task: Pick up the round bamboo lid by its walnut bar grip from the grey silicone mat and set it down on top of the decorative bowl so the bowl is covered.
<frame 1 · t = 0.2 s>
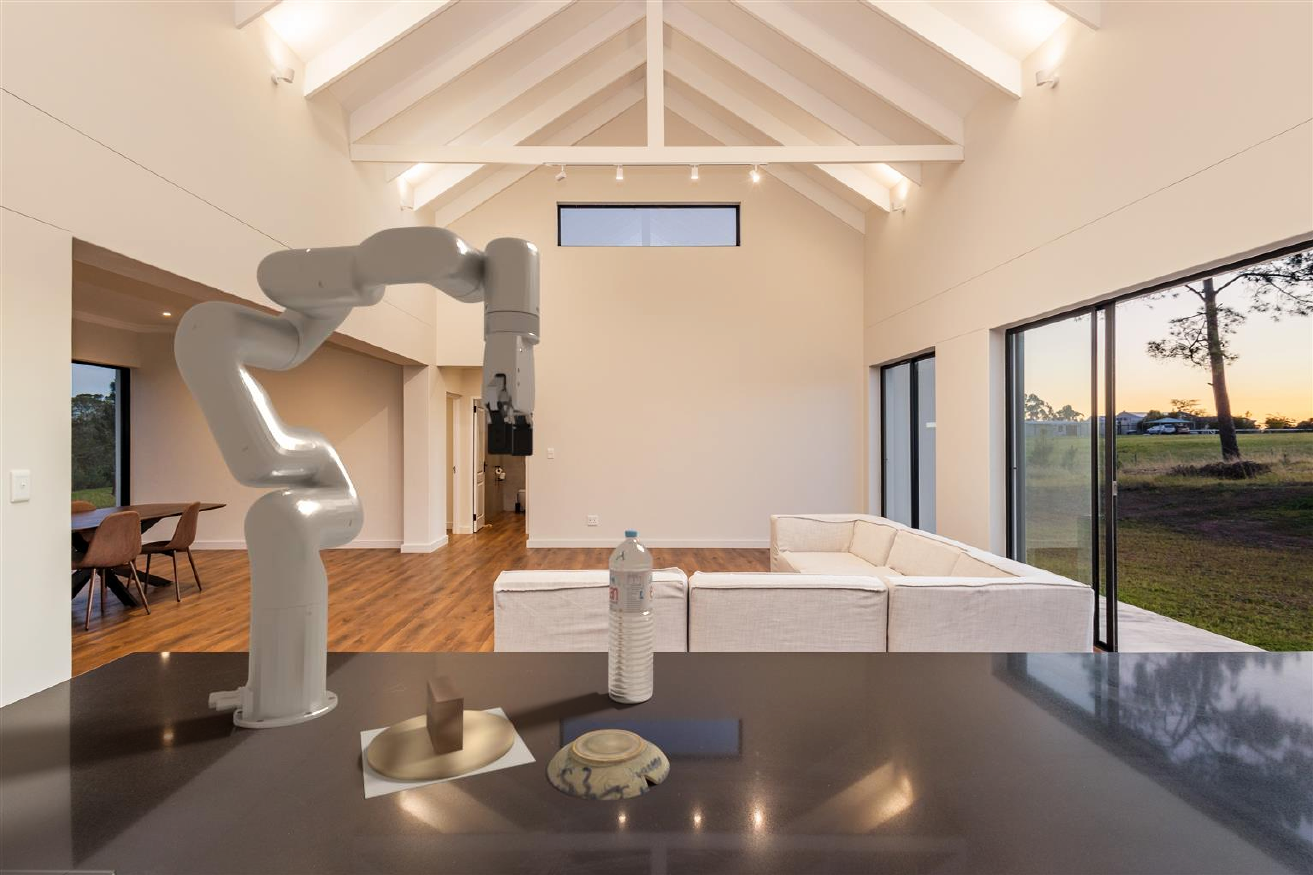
hand: (511, 455, 85), 36 cm above the kitchen island, tool pointing down, fingers open, 9 cm apart
decorative bowl: (607, 777, 71), on the kitchen island
mat: (443, 750, 76), on the kitchen island
lid: (443, 745, 76), point 1 cm above the kitchen island, touching mat
water bottle: (630, 697, 94), on the kitchen island
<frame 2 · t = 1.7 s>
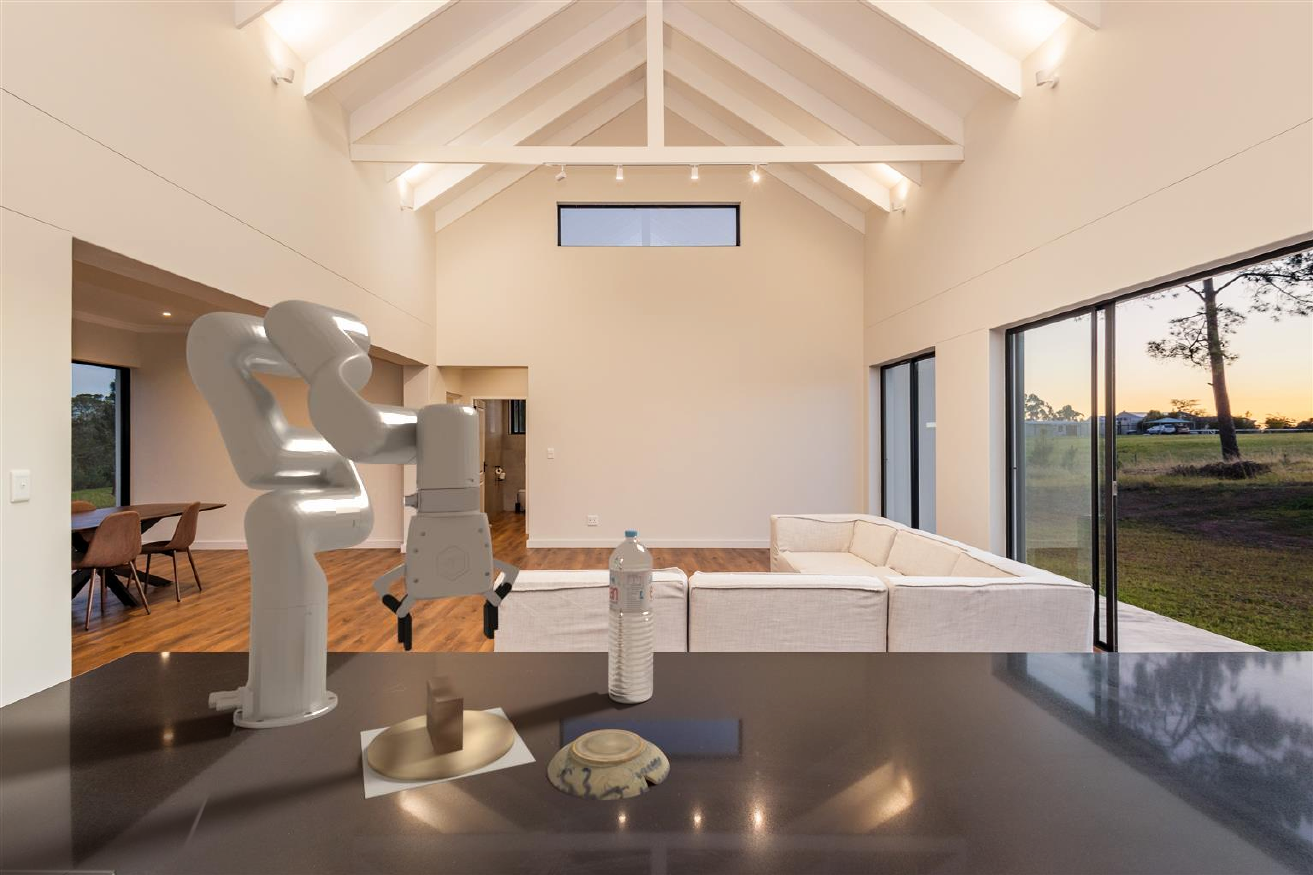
hand: (449, 642, 76), 13 cm above the kitchen island, tool pointing down, fingers open, 9 cm apart
nothing on the kitchen island moved.
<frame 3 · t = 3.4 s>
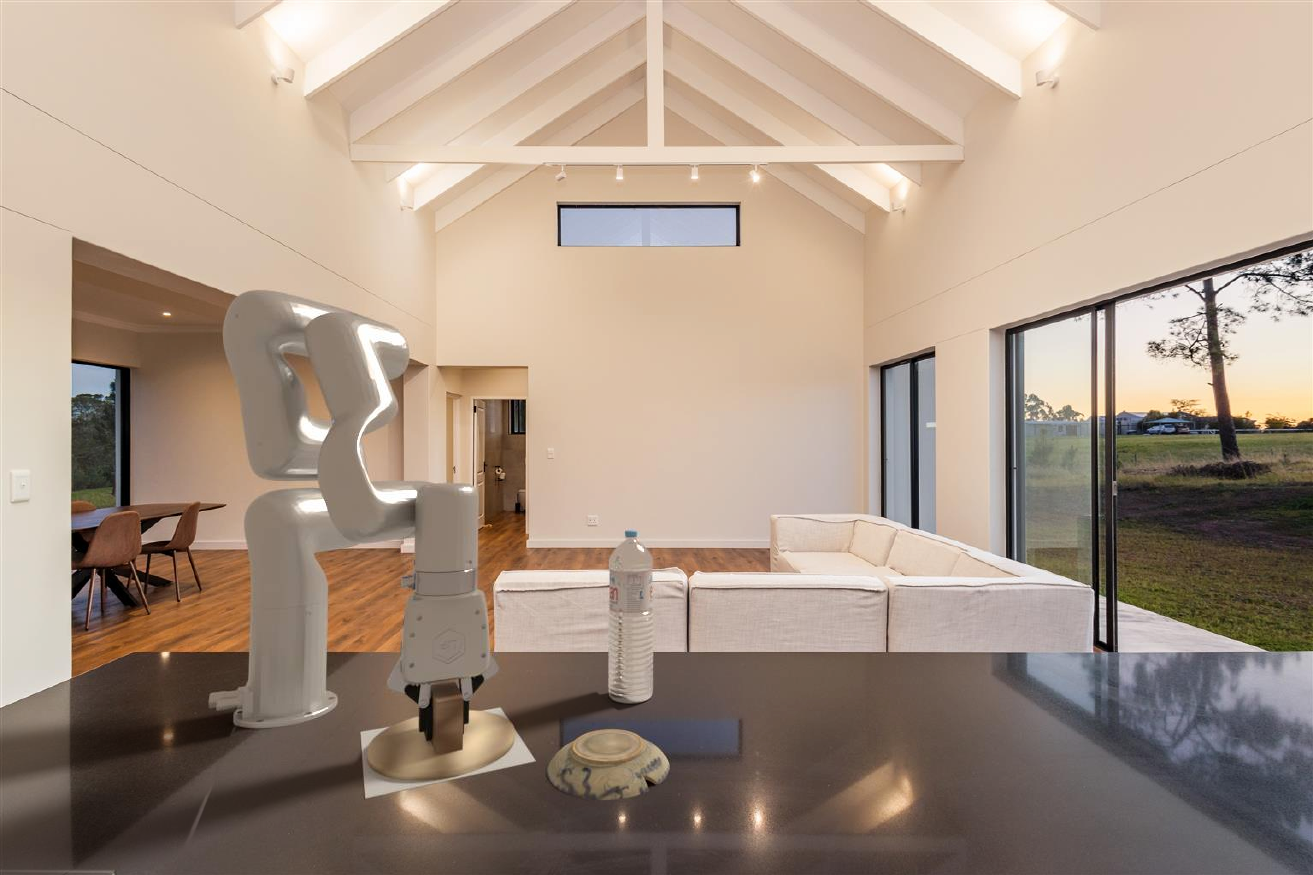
hand: (443, 732, 76), 2 cm above the kitchen island, tool pointing down, fingers closed on lid, 3 cm apart
lid: (443, 745, 76), point 1 cm above the kitchen island, touching gripper, mat
everything else where it was.
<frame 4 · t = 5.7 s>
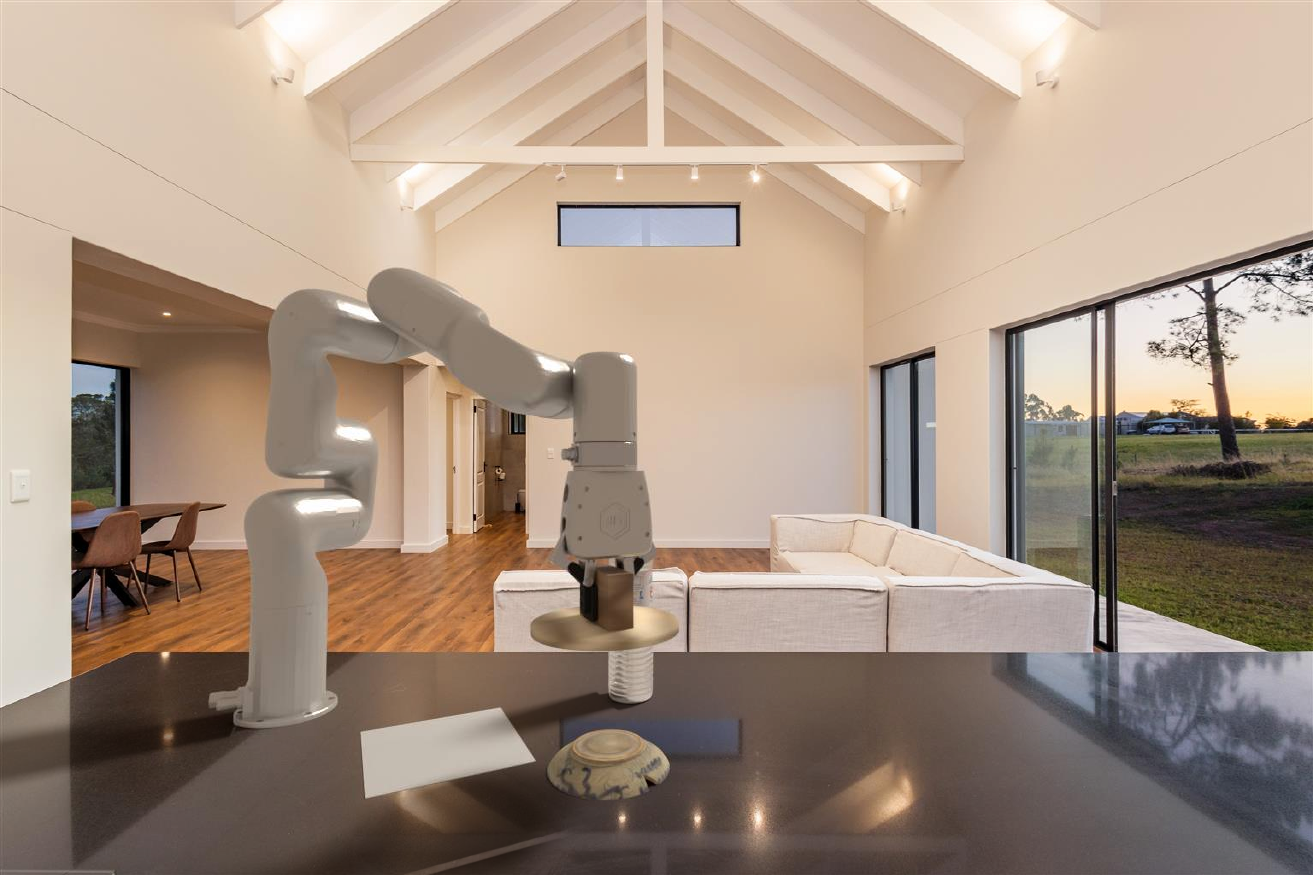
hand: (605, 616, 72), 18 cm above the kitchen island, tool pointing down, fingers closed on lid, 3 cm apart
lid: (605, 629, 72), point 16 cm above the kitchen island, touching gripper
everything else where it was.
when the fingers open (7 cm above the kitchen island, at t = 8.3 s): lid drops 3 cm, resting on decorative bowl.
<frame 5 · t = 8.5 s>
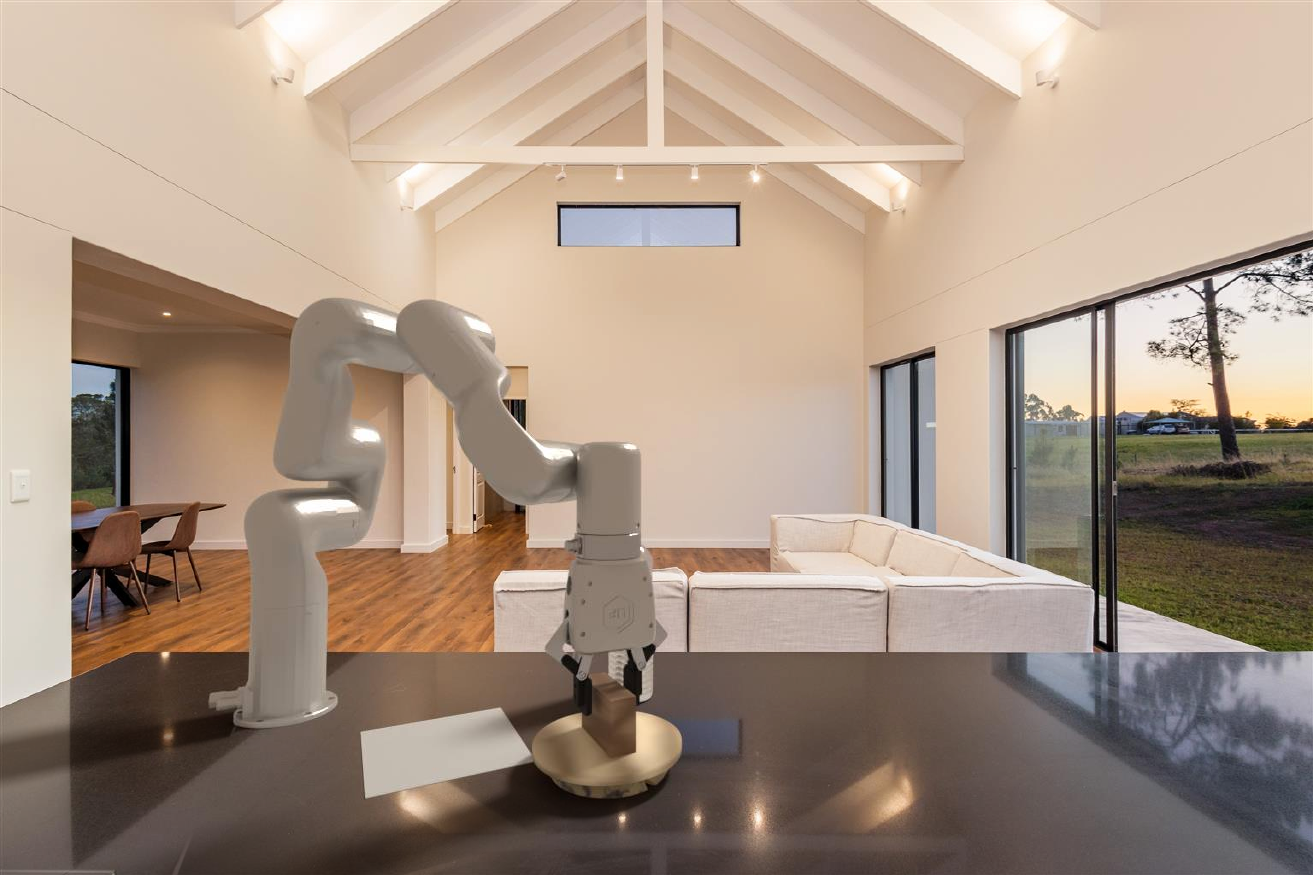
hand: (608, 705, 71), 7 cm above the kitchen island, tool pointing down, fingers open, 5 cm apart
decorative bowl: (608, 781, 71), on the kitchen island, touching lid
lid: (607, 747, 71), point 3 cm above the kitchen island, touching decorative bowl
everything else where it was.
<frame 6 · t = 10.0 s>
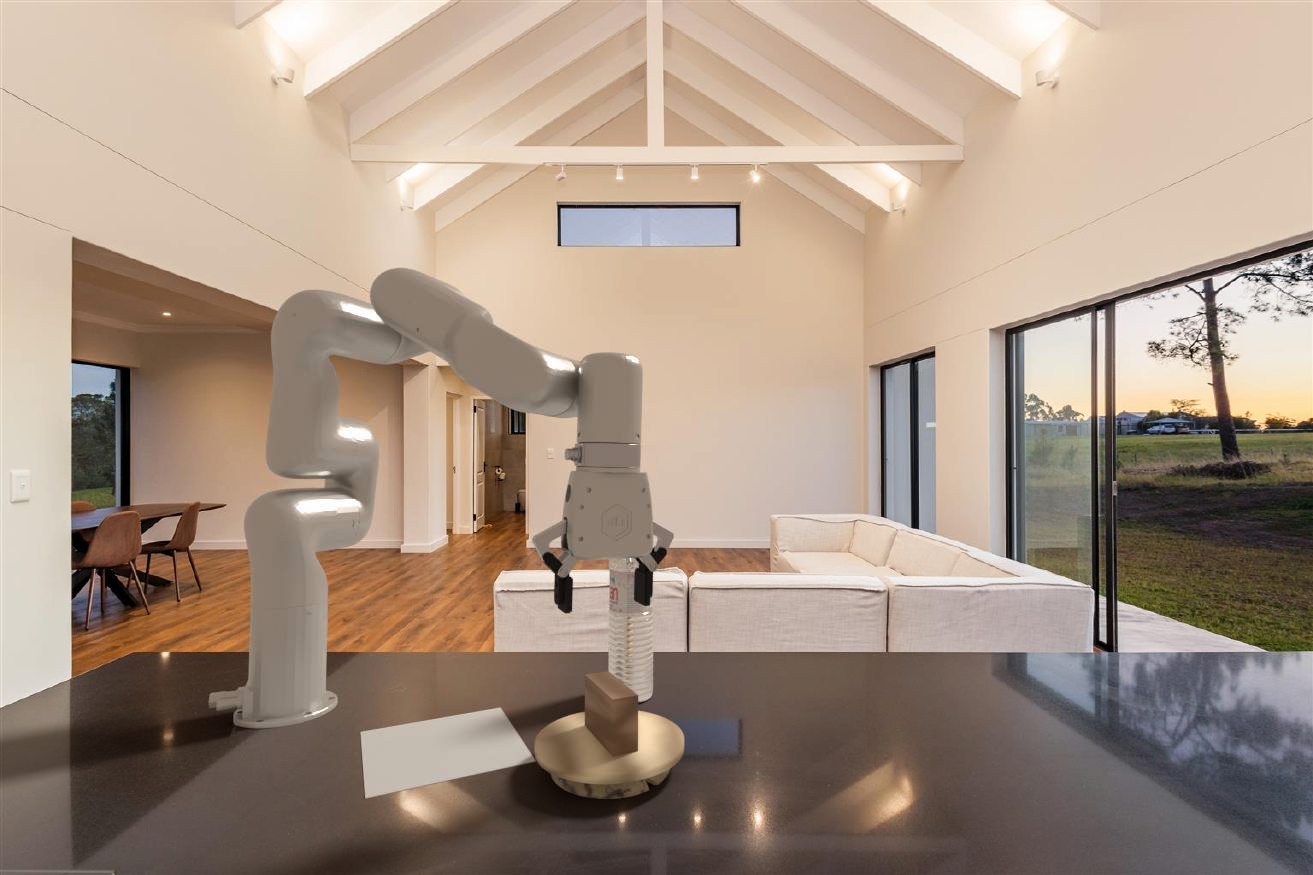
hand: (604, 607, 72), 19 cm above the kitchen island, tool pointing down, fingers open, 9 cm apart
decorative bowl: (609, 780, 71), on the kitchen island
lid: (610, 746, 71), point 3 cm above the kitchen island
everything else where it was.
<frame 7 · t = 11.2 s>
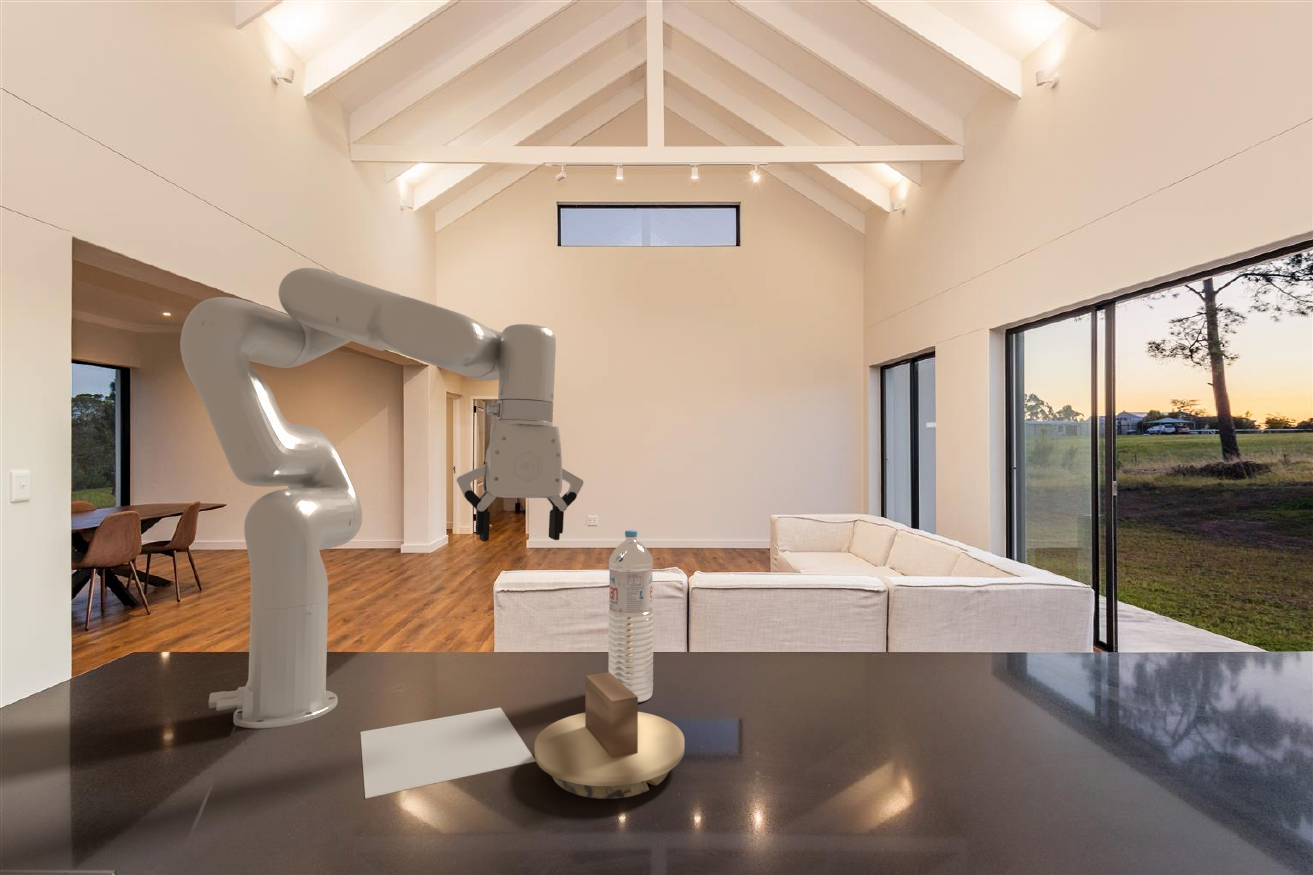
hand: (519, 539, 85), 25 cm above the kitchen island, tool pointing down, fingers open, 9 cm apart
decorative bowl: (609, 781, 71), on the kitchen island, touching lid
lid: (610, 747, 71), point 3 cm above the kitchen island, touching decorative bowl
everything else where it was.
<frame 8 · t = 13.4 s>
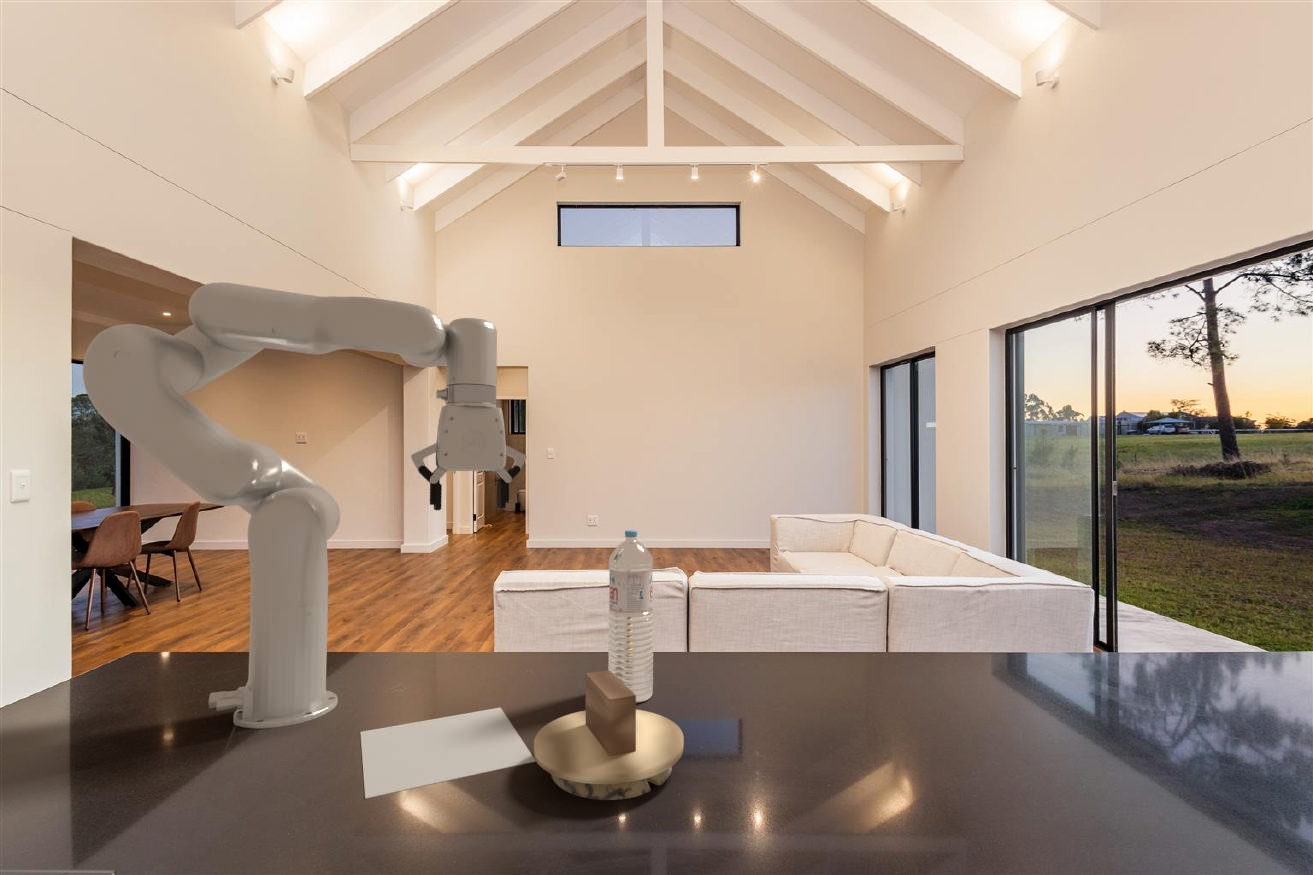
hand: (469, 508, 96), 28 cm above the kitchen island, tool pointing down, fingers open, 9 cm apart
nothing on the kitchen island moved.
at the end: lid 0.2 cm from the decorative bowl (horizontally); lid point 2.9 cm above the kitchen island; lid tilted 0° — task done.
